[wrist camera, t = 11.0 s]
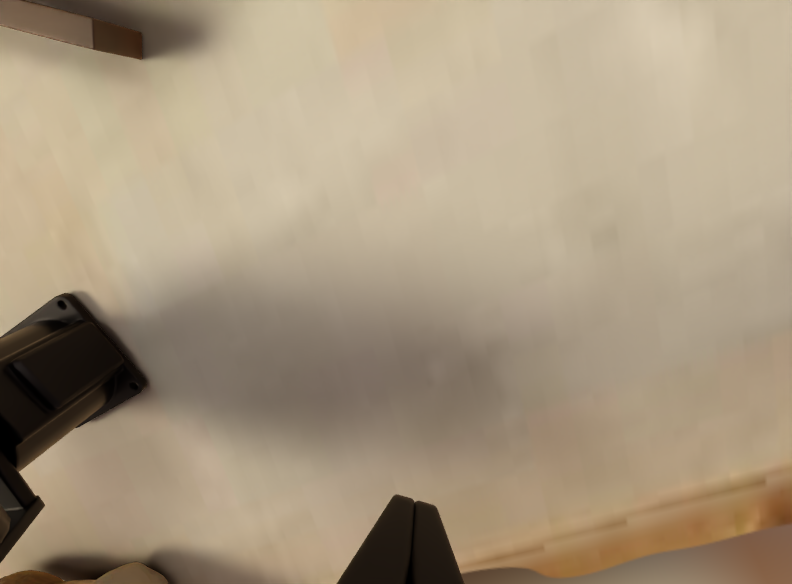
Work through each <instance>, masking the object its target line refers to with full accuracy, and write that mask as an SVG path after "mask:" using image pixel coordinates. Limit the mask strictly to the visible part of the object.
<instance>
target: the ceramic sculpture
mask: <svg viewBox="0 0 792 584" xmlns="http://www.w3.org/2000/svg"><path fill="white" fill-rule="evenodd" d="M0 584H168V581H167V580H166V579H165V577H164V576H163V575H161V574H160V573H158V572H156V571H154V570H152V569H150V568H148V567H147V566H145V565H144V564H141V563H138V562H134V563H129V564H125V565H123V566H120V567H118V568H116V569H114V570H112V571H109V572H107V573H106V574H104V575H103V576H101V577H100V578H99V579H97V580H74V581H67V582H66V581H63V580H62V579H61V578H59V577H56V576H54V575H52V574H49V573H45V572H40V571H33V570H29V571H21V572H17V573H14V574H11V575H9V576H5V577H3V578H1V579H0Z"/></svg>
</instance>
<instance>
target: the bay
mask: <svg viewBox="0 0 792 584" xmlns="http://www.w3.org/2000/svg"><path fill="white" fill-rule="evenodd" d="M0 26H4V27H8V28H12V29H16V30H20V31H23V32H27V33H31V34H35V35H39V36H43V37H47V38H50V39H54V40H58V41H62V42H66V43H70V44H74V45H77V46H81V47H85V48H89V49H93V50H97V51H102V52H107V53H112V54H116V55H121V56H126V57H131V58H135V59H140V60H141V59H142V33H141V32H138V31H135V30H132V29H128V28H125V27H122V26H118V25H115V24H112V23H108V22H105V21H101V20H98V19H95V18H91V17H87V16H83V15H80V14H76V13H72V12H68V11H64V10H60V9H56V8H52V7H48V6H44V5H40V4H37V3H33V2H29V1H25V0H0Z"/></svg>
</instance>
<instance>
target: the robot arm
mask: <svg viewBox="0 0 792 584" xmlns="http://www.w3.org/2000/svg"><path fill="white" fill-rule="evenodd" d="M65 303H66V304H65ZM146 387H147V381H146V380H145V378H144V377H143V376H142V375H141V374H140V373H139V371H138V370H137V369H136V368H135V367H134V366H133V364H132V363H131V362H130V361H129V360H128V359H127V358H126V356H125V355H124V354H123V353H122V352H121V351H120V350H119V348H118V347H117V346H116V345H115V344H114V343H113V341H112V340H111V339H110V338H109V337H108V336H107V335H106V333H105V332H104V331H103V330H102V329H101V328H100V326H99V325H98V324H97V323H96V322H95V321H94V320H93V318H92V317H91V316H90V315H89V314H88V313H87V312H86V310H85V309H84V308H83V307H82V306H81V305H80V303H79V302H78V301H77V300H76V299H75V298H74V297H73V296H72V295H70V294H68V293H64V294H61V295H59V296H56V297H55V298H53V299H52V300H50V301H49V302H48V303H46V304H45V305H44V306H42V307H41V308H40V309H38V310H37V311H36V312H34V313H33V314H31V315H30V316H29V317H27V318H26V319H25V320H23V321H22V322H21V323H19V324H18V325H16V326H15V327H14V328H12V329H11V330H10V331H8V332H7V333H6V334H4V335H3V336H2V337H0V563H1V561H2V560H3V559H4V558H5V556H6V555H7V554H8V552H9V551H10V550H11V549H12V547H13V546H14V545H15V543H16V542H17V541H18V540H19V538H20V537H21V536H22V534H23V533H24V532H25V531H26V529H27V528H28V527H29V525H30V524H31V523H32V521H33V520H34V519H35V518H36V516H37V515H38V514H39V512H40V511H41V510H42V509H43V507H44V506H45V504H44V503H43V501H42V500H41V498H40V497H39V496H35V495H34V493H33V492H32V490H31V489H30V487H29V486H28V485H27V483H26V482H25V480H24V479H23V478H22V476H21V475H20V473H19V471H21V470H22V469H23V468H24V467H26V466H27V465H28V464H30V463H31V462H32V461H33V460H35V459H36V458H37V457H38V456H40V455H41V454H42V453H44V452H45V451H46V450H47V449H49V448H50V447H51V446H52V445H54V444H55V443H56V442H58V441H59V440H60V439H61V438H63V437H64V436H65V435H66V434H68V433H69V432H70V431H72V430H73V429H74V428H78V427H80V426H82V425H83V424H85V423H87V422H89V421H91V420H92V419H94V418H96V417H98V416H99V415H101V414H103V413H105V412H107V411H108V410H110V409H112V408H114V407H115V406H117V405H119V404H121V403H123V402H124V401H126V400H128V399H130V398H131V397H133V396H135V395H137V394H139V393H140V392H141V391H142V390H144V389H145V388H146ZM337 584H464V581H463V579H462V576H461V573H460V570H459V568H458V565H457V562H456V559H455V556H454V554H453V551H452V548H451V545H450V543H449V540H448V537H447V534H446V532H445V529H444V526H443V523H442V521H441V518H440V515H439V512H438V510H437V508H436V507H435V506H434V505H431V504H428V503H425V502H421V501H416V502H415V503H414V500H413V499H411V498H408V497H404V496H401V495H394V496H393V497H392V499H391V500H390V502H389V504H388V505H387V507H386V508H385V510H384V511H383V513H382V514H381V516H380V517H379V519H378V521H377V522H376V524H375V525H374V527H373V528H372V530H371V531H370V533H369V535H368V536H367V538H366V539H365V541H364V542H363V544H362V545H361V547H360V548H359V550H358V552H357V553H356V555H355V556H354V558H353V559H352V561H351V562H350V564H349V565H348V567H347V569H346V570H345V572H344V573H343V575H342V576H341V578H340V579H339V581H338V583H337Z"/></svg>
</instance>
